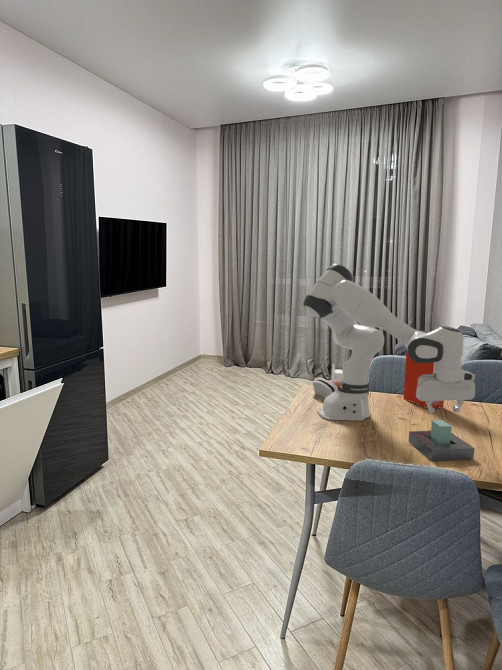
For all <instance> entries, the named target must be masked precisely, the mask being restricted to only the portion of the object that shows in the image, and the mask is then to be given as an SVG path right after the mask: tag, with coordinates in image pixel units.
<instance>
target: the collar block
mask: <svg viewBox="0 0 502 670" xmlns="http://www.w3.org/2000/svg"><path fill="white" fill-rule="evenodd" d="M430 438H431V430H413V431H410V430H409V432H408V443H409V444H410V445H412V446H413V448H415V449H416V450H418V451H419V452H420V453H422V455H424V456H425V457H426V458H427V459H428V460H429V461H431V462H445V461H446V462H447V461H448V462H449V461H470V460H471V461H472V460H474V458H475V447H473V446H472V445H470V444H469V443H467V442H466V441H464V440H463V439H462V438H460V437H458V436H457V435H455V434H453V433H452V432H451V439H450V444H446V445H437V444H436V443H435V442H433V441H432V440H431V439H430Z"/></svg>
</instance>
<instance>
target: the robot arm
mask: <svg viewBox="0 0 502 670" xmlns="http://www.w3.org/2000/svg"><path fill="white" fill-rule="evenodd" d="M302 303H303V304H302V305H303V307H304V310H305V311H306V312H307V314H309V315H311V316H312V317H314V318H317V319H322V320H324V322H325V323H326V324H327V326H329V328H330V329H331V330H332V333H331V339H332V341H333V342H334V344H336V345H338V346H339V347H342V348H344V349H347V350H351V354H350V357H349V359H346V360H345V361H344V362H343V364H342V372H343V373H342V381H341V382H340V383H339V382H338V381H335V382H334V384H335V385H336V386H337V390H336V391H335V392H333V393H332V394H330V395H329V396H327V397H326V398H324V400H323V404H322V406H321V407H318V409H317V413H318V415H319V416H320V417H321V418H323V419H326V420H328V421H355V422H357V421H358V422H361V421H364V420H365V419H367V418H370V417H371V412H370V411H371V410H370V406H369V395H370V383H369V381H370V380H369V377H370V369H371V368H370V367H371V364H372V360H373V358H374V357H375V356H376V355H377V354H378V353H379V352H381V350H383V348H384V345H385V335H384V333H383V332H382V331H381V330H384V331H385V332H387V333H389V334H390V336H393V337H394V338H396V339H397V340H398V341H400V342H401V343H402V344H403V345H404V347H405V349H406V350H407V352H408V355H409V357H410V358H411V359H412V360H413V361H414V362H417V363H433V362H434V370H433V374H423V375H422V376H420V377H419V378H418V386H417V391H416V397H417V398H418V399H419V400H420V401H425V402H426V404H427V406H428V408H427V413H429V414H434V413H435V410H436V409H435V408H433V407H432V406H431V404H432V401H444V402H445V401H456V404H455V405H453V407H452V411H453V412H454V413H459V412H461V407H462V406H463V405H464V403H465V401H470V400H471V401H472V400H474V398H475V396H476V383H475V381H474V380H475V378H476V375H475V374H474V373H472V372H470V371H468V370H465V369H463V367H462V357H463V354H464V335H463V333H462V332H461V331H460V330H459V329H457V328H455V327H451V326H448V325H447V326H445V325H442V326H439V327H438V328H435V329H434V330H432V331H429V332H428V331H425V330H422V329H417V328H414V327H412V326H410V325H409V324H407V323H406V322H404V321H403V320H402V319H400V318H398V317H397V316H396V315H395V314H393V313H392V312H391V311H390V309H388V307H387V306H386V305H385V304H384V303H383V302H382V301H381V300H380V298H378V297H377V296H376V295H374V294H373V293H372V292H370V291H369V290H367V289H366V288H364V286H363V287H362V286H361V285H360V284H357V283H355V282H353V275H352V272H351V271H350V270H349V269H348V268H347V267H345V265H342V264H339V263H333V264H332V265H330V266H329V267H328V268H327V269H326V270H325V271H324V273H323V274H322V275H321V276H320V277H319V278H318V279H317V281H316V282H315V284H314V285H313V287H312V288H311V290H310V291H309V293H308V294H307V295H306V297H305V298H304V300H303V302H302ZM356 322H357V323H356ZM358 323H359V324H358ZM376 328H378V329H376ZM379 329H381V330H379Z"/></svg>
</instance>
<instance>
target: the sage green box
mask: <svg viewBox="0 0 502 670" xmlns="http://www.w3.org/2000/svg"><path fill="white" fill-rule="evenodd" d="M430 428H431V429H430V431H431V438H430V439H431V440H432V441H433V442H435V443H436V444H437V445H446V444H450V439H451V433H452V425H450V424H449V423H447V422H446V421H445V420H442V419H437V420H431V427H430Z"/></svg>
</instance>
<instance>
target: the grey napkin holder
mask: <svg viewBox="0 0 502 670" xmlns="http://www.w3.org/2000/svg"><path fill="white" fill-rule="evenodd" d="M312 385H313V391H314V394H315V393H316V394H315V395H317V394H318V395H317V396H319V395H320V396H319V397H321V396H322V397H321V398H323V399H325V398H326V397H327V396H329V395H330V394H332V393H333V392H335V391H336V387H335V386H334V385H333V384H332V383H331V381H329V380H327V379H323V378H318V379H316V380H314V381H313V382H312Z"/></svg>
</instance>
